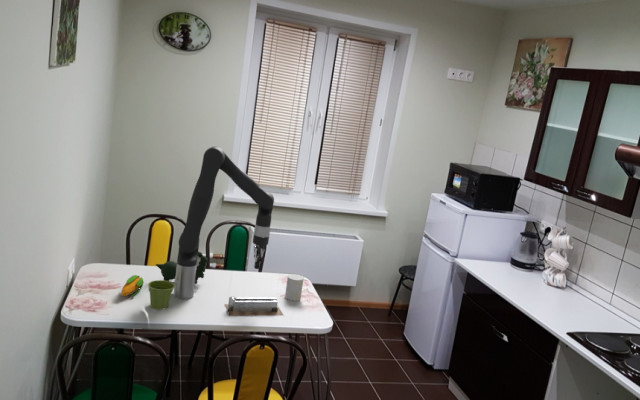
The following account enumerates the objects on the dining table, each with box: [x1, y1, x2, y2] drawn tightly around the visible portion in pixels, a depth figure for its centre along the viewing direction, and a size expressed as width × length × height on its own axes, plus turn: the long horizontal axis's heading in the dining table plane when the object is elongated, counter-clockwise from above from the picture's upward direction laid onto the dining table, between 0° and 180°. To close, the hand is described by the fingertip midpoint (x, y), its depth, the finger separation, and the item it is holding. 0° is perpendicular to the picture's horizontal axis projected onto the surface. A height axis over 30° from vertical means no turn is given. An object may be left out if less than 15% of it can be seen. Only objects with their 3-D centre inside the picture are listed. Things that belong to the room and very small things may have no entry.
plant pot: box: [147, 279, 175, 310], centre depth 247 cm, size 12×12×11 cm
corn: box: [120, 274, 144, 298], centre depth 259 cm, size 7×8×20 cm
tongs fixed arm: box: [228, 296, 279, 312], centre depth 258 cm, size 24×4×6 cm, turn 110°
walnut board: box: [224, 303, 284, 317], centre depth 259 cm, size 26×13×1 cm, turn 110°
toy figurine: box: [155, 251, 208, 285], centre depth 279 cm, size 9×19×25 cm
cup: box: [284, 274, 305, 302], centre depth 280 cm, size 8×8×12 cm
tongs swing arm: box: [235, 297, 278, 301], centre depth 260 cm, size 20×2×5 cm, turn 110°
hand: (256, 268), depth 263 cm, fingers closed
